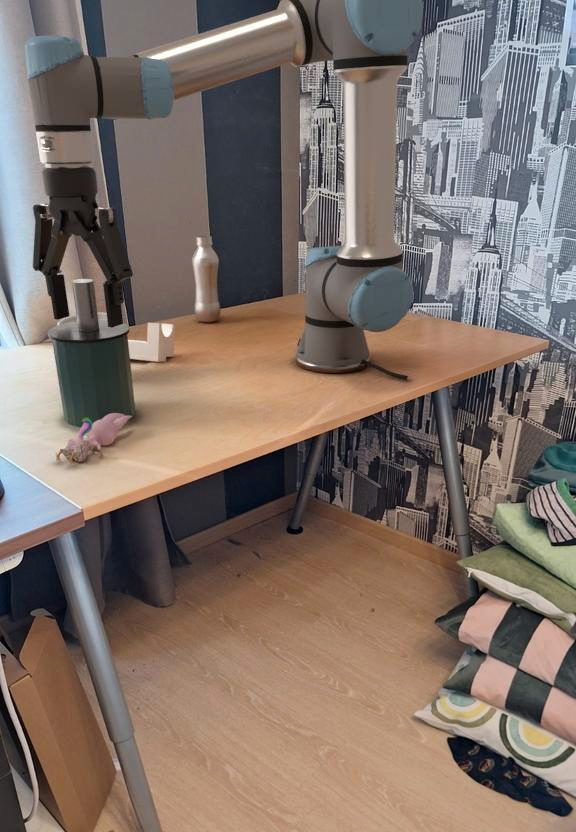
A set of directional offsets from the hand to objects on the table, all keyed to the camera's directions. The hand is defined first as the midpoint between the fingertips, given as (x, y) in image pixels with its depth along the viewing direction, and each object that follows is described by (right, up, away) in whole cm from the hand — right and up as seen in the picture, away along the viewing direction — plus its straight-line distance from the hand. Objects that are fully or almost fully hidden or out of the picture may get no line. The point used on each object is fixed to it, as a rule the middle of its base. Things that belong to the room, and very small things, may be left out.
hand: (88, 321), depth 114 cm
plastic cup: (-6, -5, +25) cm, 26 cm away
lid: (0, -2, +1) cm, 2 cm away
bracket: (0, +3, +39) cm, 39 cm away
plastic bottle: (+11, +18, +67) cm, 70 cm away
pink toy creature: (+3, -20, -3) cm, 21 cm away
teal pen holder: (0, -14, +8) cm, 16 cm away
